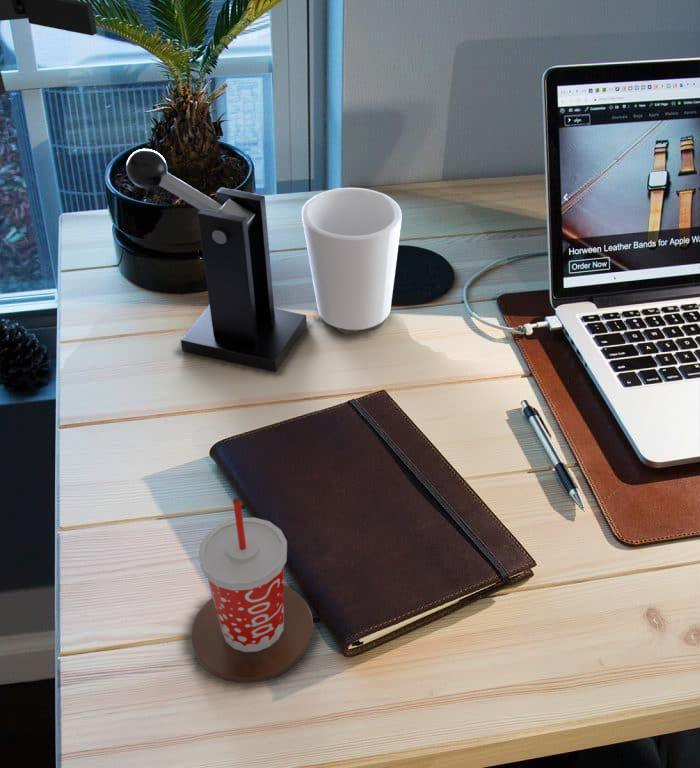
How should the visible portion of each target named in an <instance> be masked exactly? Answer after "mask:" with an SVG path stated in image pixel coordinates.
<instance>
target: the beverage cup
mask: <svg viewBox="0 0 700 768" xmlns="http://www.w3.org/2000/svg"><path fill="white" fill-rule="evenodd" d="M232 505H233V510H234V512H233V513H234V519H230V520H227V521H224V522H221V523H219V524H218V525H217V526H216V527H214V528H213V529H211V530H209V531H208V532H207V534H206V535H205V537H204V538H203V540H202V541H201V543H200V544H199V549H198V557H197V559H198V561H199V566H200V568H201V570H202V573H203V575H204V578H206V579H207V582H208V586H209V590H210V593H211V596H212V597H213V601H214V604H215V608H216V612H217V615H218V619H219V623H220V626H221V630H222V634H223V636H224V638H225V641H226V643H228V644H229V645H230V646H231V647H233V648H234V649H236V650H240V651H243V652H256V651H260V650H262V649H265V648H268V647H270V646H271V645H272V644H273V643H274V642H276V641H277V640H278V639H279V637H280V635H281V633H282V632H283V626H284V586H285V581H284V580H285V564H286V563H287V561H288V559H287V558H288V554H287V553H288V540H287V539H286V537H285V535H284V533H283V531H282V529H281V528H279V527H278V526H277V525H275V524H273V522H271V521H269V520H266V519H261V518H258V517H243V511H242V502H241V499H240V498H239V497H235V498H233V500H232ZM212 597H211V598H212Z"/></svg>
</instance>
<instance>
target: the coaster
mask: <svg viewBox="0 0 700 768" xmlns="http://www.w3.org/2000/svg"><path fill="white" fill-rule="evenodd" d="M313 633H314V618H313V614H312V610H311V609H310V606H309V604H308V602H306V600H305V599H304V598H303V597H302V596H301V594H299V593H298V592H297V591H296V590H294V589H292V588H291V587H288V586H286V585H284V626H283V632H282V633H281V635H280V637H279V639H278V640H277V641H276V642H274V643H273V644H272V645H271V646H270V647H268V648H265V649H262V650H260V651H256V652H243V651H240V650H236V649H234V648H233V647H231V646H230V645H229V644H228V643H226V641H225V638H224V636H223V634H222V630H221V626H220V623H219V619H218V615H217V612H216V608H215V604H214V601H213V597H211V598H210V599H209V600H208V601H207V602H206V603H205V604H204V605H203V606H202V607H201V609H200V610H199V612H198V613H197V614H196V617H195V619H194V622H193V625H192V629H191V643H192V649H193V652H194V655H195V657H196V659H197V660H198V663H200V664H201V666H202V667H203V668H204V669H205V670H206V671H208V672H209V673H211V674H212V675H213V676H214V677H217V678H220V679H223V680H224V681H228V682H232V683H243V684H244V683H246V684H247V683H258V682H262V681H266V680H270V679H273V678H276V677H277V676H279V675H281V674H283V673H285V672H287V671H288V670H289V669H291V668H292V667H294V666H295V665H296V664H297V663H298V662H299V661H300V660H301V659H302V657H303V656H304V654H305V653H306V652H307V650H308V648H309V647H310V644H311V642H312V638H313V635H314V634H313Z"/></svg>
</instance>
